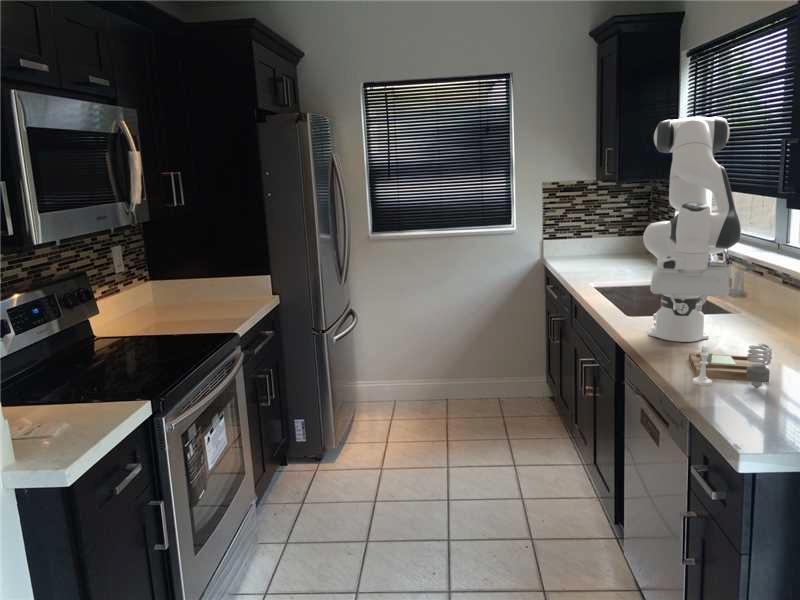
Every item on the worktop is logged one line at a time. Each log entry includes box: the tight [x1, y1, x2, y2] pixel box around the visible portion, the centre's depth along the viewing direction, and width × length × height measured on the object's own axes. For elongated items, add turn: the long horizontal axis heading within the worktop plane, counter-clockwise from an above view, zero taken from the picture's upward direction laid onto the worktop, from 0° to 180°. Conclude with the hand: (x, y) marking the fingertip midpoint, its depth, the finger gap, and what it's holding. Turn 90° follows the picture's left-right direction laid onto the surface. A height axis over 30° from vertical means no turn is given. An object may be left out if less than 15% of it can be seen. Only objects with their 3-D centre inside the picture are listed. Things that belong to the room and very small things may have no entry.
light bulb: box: [746, 342, 773, 389], centre depth 174 cm, size 6×6×12 cm
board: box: [688, 352, 771, 384], centre depth 189 cm, size 16×18×3 cm
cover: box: [700, 346, 736, 365], centre depth 189 cm, size 8×8×3 cm
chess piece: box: [691, 346, 713, 387], centre depth 179 cm, size 5×5×10 cm
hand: (687, 310), depth 189 cm, fingers open, 4 cm apart
